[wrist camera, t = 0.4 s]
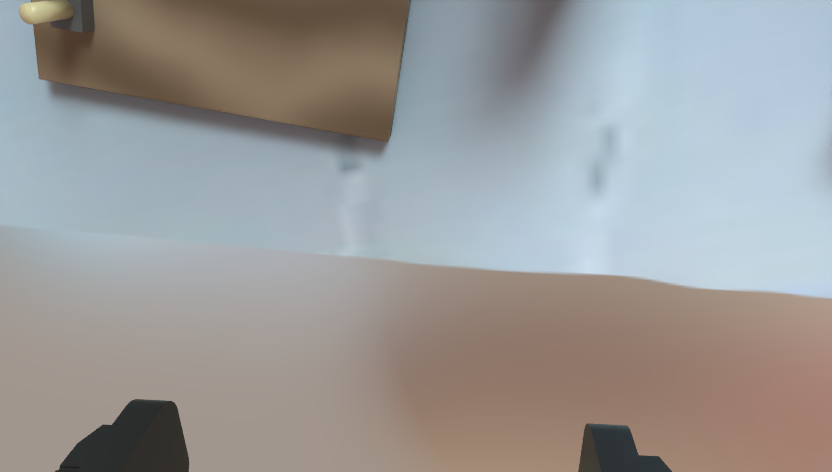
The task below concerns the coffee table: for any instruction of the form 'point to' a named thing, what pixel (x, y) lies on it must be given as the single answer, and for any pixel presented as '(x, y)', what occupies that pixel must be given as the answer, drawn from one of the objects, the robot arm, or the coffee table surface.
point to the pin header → (60, 14)
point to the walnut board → (243, 57)
